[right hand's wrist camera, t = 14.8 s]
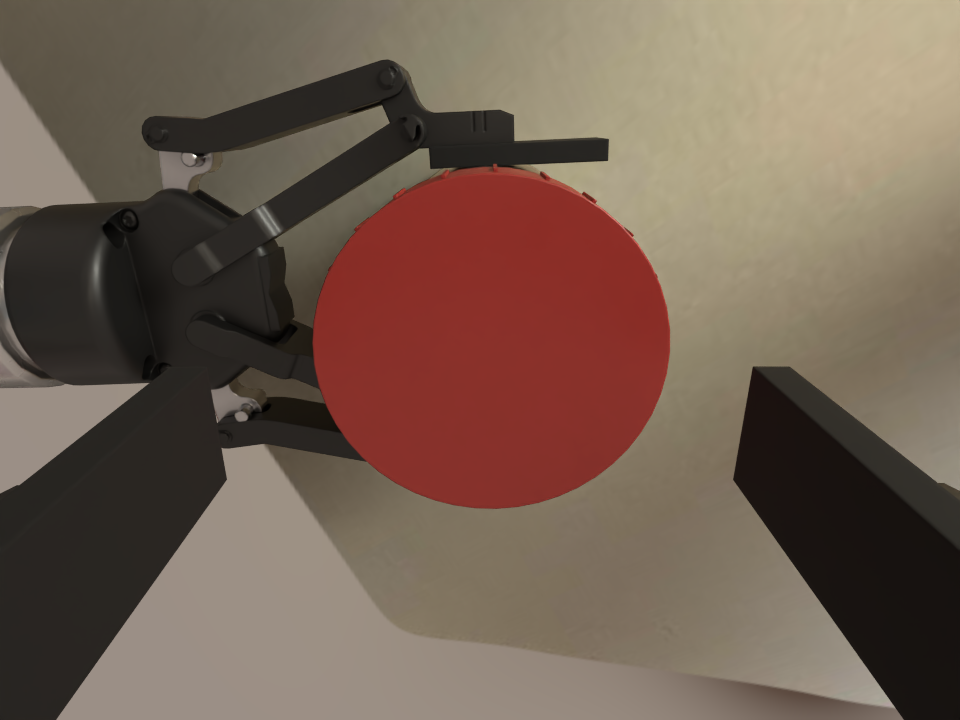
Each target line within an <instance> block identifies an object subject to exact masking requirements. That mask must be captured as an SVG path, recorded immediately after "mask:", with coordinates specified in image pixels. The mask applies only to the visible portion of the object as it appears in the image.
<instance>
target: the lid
mask: <svg viewBox="0 0 960 720" xmlns="http://www.w3.org/2000/svg"><path fill="white" fill-rule="evenodd" d="M393 198H394V199H393V200H392V201H390V202H389V203H388V204H387V205H385V206H384V207H383V208H382V209H380V210H379V211H378V212H377V213H375V214H374V215H373V216H372V217H370V218H367V219H366V220H365V221H363V222H362V223H361V224H360V225H358V226H357V227H356V228H355V229H354V230H355V231H356V232H355V233H354V234H353V235H352V236H351V237H350V239H349V240H348V242H347V243H346V244H345V246H344V247H343V249H342V250H341V251H340V253H339V254H338V256H337V257H336V259H335V261H334V263H333V265H332V266H331V267H330V268H329V269H328V271H329V272H328V274H327V276H326V278H325V281H324V284H323V287H322V290H321V292H320V295H319V298H318V302H317V307H316V312H315V317H314V325H313V342H312V344H313V356H314V366H315V370H316V375H317V379H318V384H319V387H320V390H321V393H322V396H323V398H324V401H325V404H326V406H327V408H328V410H329V412H330V414H331V416H332V418H333V420H334V421H335V423H336V425H337V427H338V428H339V429H340V431H341V432H342V434H343V435H344V437H345V438H346V439H347V441H348V442H349V443H350V444H351V446H352V447H353V448H354V449H355V450H356V451H357V452H358V453H359V454H360V455H361V457H362V458H363V459H365V460H366V461H367V462H368V463H369V464H370V465H372V466H373V467H374V468H375V469H376V470H377V471H379V472H380V473H382V474H383V475H385V476H386V477H388V478H389V479H391V480H392V481H394V482H395V483H397V484H399V485H401V486H402V487H404V488H406V489H408V490H410V491H412V492H414V493H417V494H419V495H422V496H425V497H427V498H430V499H433V500H436V501H440V502H444V503H448V504H451V505H456V506H463V507H471V508H489V509H499V508H511V507H520V506H525V505H530V504H535V503H539V502H542V501H545V500H549V499H552V498H555V497H558V496H560V495H563V494H565V493H567V492H569V491H571V490H574V489H576V488H578V487H580V486H581V485H583V484H585V483H586V482H588V481H590V480H591V479H593V478H595V477H596V476H598V475H599V474H600V473H602V472H603V471H604V470H605V469H607V468H608V467H609V466H611V465H612V464H613V463H614V462H615V461H616V460H617V459H618V458H619V457H620V456H621V455H622V454H623V453H624V452H625V451H626V450H627V449H628V448H629V447H630V446H631V444H632V443H633V442H634V441H635V439H636V438H637V437H638V436H639V434H640V433H641V432H642V430H643V428H644V427H645V425H646V423H647V422H648V420H649V418H650V417H651V415H652V413H653V411H654V409H655V406H656V404H657V402H658V399H659V397H660V395H661V392H662V388H663V385H664V381H665V378H666V374H667V368H668V361H669V354H670V326H669V319H668V312H667V306H666V303H665V299H664V296H663V292H662V289H661V285H660V283H659V281H658V279H657V278H658V277H657V275H656V274H655V272H654V270H653V268H652V265H651V264H650V262H649V260H648V259H647V257H646V256H645V254H644V253H643V251H642V249H641V248H640V246H639V245H638V243H637V242H636V241H635V240H634V239H633V238H632V237H633V236H634V235H633V234H632V233H631V232H630V231H629V230H627V229H626V228H625V227H623V226H622V225H621V224H620V223H619V222H617V221H616V220H615V219H614V218H613V217H612V216H610V215H609V214H608V213H607V212H606V211H605V210H604V209H602V208H601V207H599V206H598V205H597V204H595V203H596V202H597V200H595V199H594V198H592V197H591V196H590V195H588V194H587V193H585V192H583V193H582V194H581V193H579V192H578V191H576V190H574V189H573V188H571V187H569V186H567V185H565V184H563V183H561V182H559V181H557V180H554V179H552V178H550V177H549V176H548V175H547V174H545V173H544V172H540V174H537V173H534V172H530V171H526V170H520V169H513V168H507V167H497V164H493V167H478V168H469V169H461V170H457V171H453V172H449V169H448V170H445V171H444V172H443V173H442V174H441V175H438V176H436V177H433V178H431V179H428V180H426V181H423V182H421V183H419V184H417V185H415V186H413V187H412V188H410V189H408V190H406V189H405V188H403V189H402V190H401V191H399V192H398V193H397V194H395V195H394V196H393Z"/></svg>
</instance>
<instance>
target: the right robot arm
mask: <svg viewBox="0 0 960 720" xmlns="http://www.w3.org/2000/svg"><path fill="white" fill-rule="evenodd" d="M226 480H227V478H226V472H225V466H224V461H223V455H222V449H221V443H220V438H219V432H218V426H217V421H216V415H215V409H214V403H213V398H212V392H211V386H210V381H209V375H208V369H207V367H170V368H168V369H167V370H166V371H164V372H163V373H162V374H161V375H159V376H158V377H157V378H156V379H154V380H153V381H152V382H150V383H149V384H148V385H147V386H145V387H144V388H143V389H142V390H140V391H139V392H138V393H136V394H135V395H134V396H133V397H131V398H130V399H129V400H128V401H126V402H125V403H124V404H122V405H121V406H120V407H119V408H117V409H116V410H115V411H114V412H112V413H111V414H110V415H108V416H107V417H106V418H105V419H103V420H102V421H101V422H100V423H98V424H97V425H96V426H94V427H93V428H92V429H91V430H89V431H88V432H87V433H85V434H84V435H83V436H82V437H80V438H79V439H78V440H77V441H75V442H74V443H73V444H71V445H70V446H69V447H68V448H66V449H65V450H64V451H63V452H61V453H60V454H59V455H57V456H56V457H55V458H54V459H52V460H51V461H50V462H49V463H47V464H46V465H45V466H43V467H42V468H41V469H40V470H38V471H37V472H36V473H35V474H33V475H32V476H31V477H30V478H28V479H27V480H26V481H24V482H23V483H22V484H21V485H17V486H15V487H13V488H11V489H9V490H7V491H5V492H3V493H1V494H0V720H56V719H57V718H58V716H59V715H60V713H61V712H62V711H63V709H64V708H65V706H66V705H67V704H68V702H69V701H70V699H71V698H72V697H73V695H74V694H75V692H76V691H77V690H78V688H79V687H80V685H81V684H82V682H83V681H84V680H85V678H86V677H87V675H88V674H89V673H90V671H91V670H92V668H93V667H94V666H95V664H96V663H97V661H98V660H99V659H100V657H101V656H102V654H103V653H104V652H105V650H106V649H107V647H108V646H109V645H110V643H111V642H112V640H113V639H114V637H115V636H116V635H117V633H118V632H119V630H120V629H121V628H122V626H123V625H124V623H125V622H126V621H127V619H128V618H129V616H130V615H131V614H132V612H133V611H134V609H135V608H136V607H137V605H138V604H139V602H140V601H141V600H142V598H143V597H144V595H145V594H146V593H147V591H148V590H149V588H150V587H151V586H152V584H153V583H154V581H155V580H156V578H157V577H158V576H159V574H160V573H161V571H162V570H163V569H164V567H165V566H166V564H167V563H168V562H169V560H170V559H171V557H172V556H173V555H174V553H175V552H176V550H177V549H178V548H179V546H180V545H181V543H182V542H183V541H184V539H185V538H186V536H187V535H188V533H189V532H190V531H191V529H192V528H193V526H194V525H195V524H196V522H197V521H198V519H199V518H200V517H201V515H202V514H203V512H204V511H205V509H206V508H207V507H208V505H209V504H210V503H211V501H212V500H213V498H214V497H215V496H216V494H217V493H218V491H219V490H220V488H221V487H222V486H223V484H224V483H225V481H226ZM733 480H734V481H735V483H736V484H737V486H738V487H739V489H740V490H741V491H742V493H743V494H744V496H745V497H746V498H747V500H748V501H749V503H750V504H751V505H752V507H753V508H754V510H755V511H756V512H757V514H758V515H759V517H760V518H761V519H762V521H763V522H764V524H765V525H766V526H767V528H768V529H769V531H770V532H771V533H772V535H773V536H774V538H775V539H776V541H777V542H778V543H779V545H780V546H781V548H782V549H783V550H784V552H785V553H786V555H787V556H788V557H789V559H790V560H791V562H792V563H793V564H794V566H795V567H796V569H797V570H798V571H799V573H800V574H801V576H802V577H803V578H804V580H805V581H806V583H807V584H808V586H809V587H810V588H811V590H812V591H813V593H814V594H815V595H816V597H817V598H818V600H819V601H820V602H821V604H822V605H823V607H824V608H825V609H826V611H827V612H828V614H829V615H830V616H831V618H832V619H833V621H834V622H835V623H836V625H837V626H838V628H839V629H840V630H841V632H842V633H843V635H844V636H845V638H846V639H847V640H848V642H849V643H850V645H851V646H852V647H853V649H854V650H855V652H856V653H857V654H858V656H859V657H860V659H861V660H862V661H863V663H864V664H865V666H866V667H867V668H868V670H869V671H870V673H871V674H872V675H873V677H874V678H875V680H876V681H877V683H878V684H879V685H880V687H881V688H882V690H883V691H884V692H885V694H886V695H887V697H888V698H889V699H890V701H891V702H892V704H893V705H894V706H895V708H896V709H897V711H898V712H899V713H900V715H901V716H902V718H903V719H904V720H960V491H959V490H957V489H955V488H953V487H951V486H949V485H947V484H944V483H937V482H936V481H934V480H933V479H932V478H931V477H929V476H928V475H927V474H925V473H924V472H923V471H922V470H920V469H919V468H918V467H917V466H915V465H914V464H913V463H911V462H910V461H909V460H908V459H906V458H905V457H904V456H903V455H901V454H900V453H899V452H897V451H896V450H895V449H894V448H892V447H891V446H890V445H889V444H887V443H886V442H885V441H883V440H882V439H881V438H880V437H878V436H877V435H876V434H875V433H873V432H872V431H871V430H869V429H868V428H867V427H866V426H864V425H863V424H862V423H861V422H859V421H858V420H857V419H855V418H854V417H853V416H852V415H850V414H849V413H848V412H846V411H845V410H844V409H843V408H841V407H840V406H839V405H838V404H836V403H835V402H834V401H832V400H831V399H830V398H829V397H827V396H826V395H825V394H824V393H822V392H821V391H820V390H818V389H817V388H816V387H815V386H813V385H812V384H811V383H810V382H808V381H807V380H806V379H804V378H803V377H802V376H801V375H799V374H798V373H797V372H796V371H794V370H793V369H792V368H790V367H753V369H752V375H751V381H750V386H749V392H748V398H747V403H746V409H745V415H744V421H743V426H742V432H741V438H740V443H739V449H738V455H737V461H736V466H735V472H734V478H733Z"/></svg>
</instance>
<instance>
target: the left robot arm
mask: <svg viewBox="0 0 960 720" xmlns="http://www.w3.org/2000/svg"><path fill="white" fill-rule="evenodd" d="M381 105H382V106H383V108H384V110H385V112H386V115H387V117H388V119H389V122H390V124H388V125H386V126H385V127H383V128H382V129H380V130H379V131H377V132H375V133H374V134H372V135H371V136H369V137H368V138H366V139H365V140H363V141H361V142H360V143H358V144H357V145H355V146H354V147H352V148H350V149H349V150H347V151H346V152H344V153H343V154H341V155H340V156H338V157H336V158H335V159H333V160H332V161H330V162H329V163H327V164H325V165H324V166H322V167H321V168H319V169H318V170H316V171H315V172H313V173H311V174H310V175H308V176H307V177H305V178H304V179H302V180H300V181H299V182H297V183H296V184H294V185H293V186H291V187H290V188H288V189H286V190H285V191H283V192H282V193H280V194H279V195H277V196H275V197H274V198H272V199H271V200H269V201H268V202H266V203H264V204H263V205H261V206H259V207H257V208H255V209H254V210H252V211H250V212H249V213H247V214H245V215H244V216H242V215H240V214H239V213H237V212H236V211H234V210H232V209H231V208H229V207H228V206H226V205H224V204H223V203H221V202H219V201H218V200H216V199H215V198H213V197H211V196H210V195H208V194H207V193H205V192H203V191H202V190H200V189H198V185H199V181H200V178H201V177H202V176H203V175H205V174H206V173H210V172H214V171H216V170H218V169H219V168H220V166H221V164H222V159H223V157H222V152H225V151H233V150H242V149H246V148H250V147H253V146H257V145H260V144H263V143H266V142H269V141H272V140H275V139H278V138H281V137H284V136H288V135H291V134H294V133H297V132H300V131H303V130H306V129H309V128H312V127H316V126H319V125H322V124H325V123H328V122H331V121H334V120H337V119H340V118H343V117H347V116H350V115H353V114H356V113H359V112H362V111H365V110H368V109H371V108H375V107H378V106H381ZM142 135H143V138H144V140H145V142H146V143H147V144H148V146H150V147H151V148H153V149H154V150H158V151H159V160H160V168H161V176H162V185H163V190H161V191H159V192H157V193H156V194H155V195H153V196H152V197H151V198H149V199H147V200H145V201H135V202H112V203H90V204H68V205H52V206H48V207H45V208H42V209H41V208H37V207H33V206H21V207H0V388H27V387H53V386H61V385H64V384H70V385H104V384H131V383H150V382H152V381H153V380H154V379H156V378H157V377H158V376H159V375H161V374H162V373H163V372H164V371H166V370H167V369H168V368H170V367H207V369H208V375H209V381H210V386H211V392H212V398H213V403H214V409H215V413H216V416H217V418H218V423H217V426H218V432H219V438H220V443H221V448H236V447H243V446H251V445H258V444H270V445H276V446H281V447H287V448H293V449H298V450H304V451H310V452H315V453H321V454H327V455H332V456H338V457H343V458H349V459H355V460H360V461H366V460H365V459H363V458H362V457H361V455H360V454H359V453H358V452H357V451H356V450H355V449H354V448H353V447H352V446H351V444H350V443H349V442H348V441H347V439H346V438H345V437H344V435H343V434H342V432H341V431H340V429H339V428H338V427H337V425H336V423H335V421H334V420H333V418H332V416H331V414H330V412H329V410H328V408H327V406H326V404H323V403H317V402H312V401H306V400H301V399H295V398H288V397H267V398H266V393H265V391H263V390H262V389H248V388H246V387H244V386H242V385H241V384H240V383H239V382H238V380H237V377H238V376H239V375H241V374H242V373H243V372H244V371H246V370H247V369H248V368H249V367H252V368H255V369H257V370H260V371H262V372H265V373H267V374H269V375H272V376H274V377H277V378H280V379H291V378H292V379H297V380H299V381H301V382H304V383H306V384H309V385H311V386H314V387H316V388H318V389H320V387H319V384H318V379H317V375H316V370H315V366H314V356H313V344H312V342H313V329H312V328H310V327H308V326H306V325H304V324H301V323H299V322H297V321H294V320H292V319H293V318H294V317H295V316H294V310H293V304H292V299H291V297H290V295H289V292H288V290H287V288H286V286H285V283H284V280H285V271H286V260H285V254H284V248H283V247H278V244H277V243H276V241H275V240H274V239H275V238H277V237H278V236H280V235H282V234H283V233H285V232H286V231H288V230H290V229H291V228H293V227H294V226H296V225H298V224H299V223H300V222H302V221H303V220H305V219H307V218H308V217H310V216H312V215H313V214H315V213H316V212H318V211H320V210H321V209H323V208H324V207H326V206H328V205H329V204H331V203H332V202H334V201H336V200H337V199H339V198H340V197H342V196H344V195H345V194H347V193H348V192H350V191H352V190H353V189H355V188H356V187H358V186H360V185H361V184H363V183H364V182H366V181H368V180H369V179H371V178H372V177H374V176H376V175H377V174H379V173H380V172H382V171H384V170H385V169H387V168H388V167H390V166H392V165H393V164H395V163H396V162H398V161H400V160H401V159H403V158H404V157H406V156H408V155H409V154H411V153H412V152H414V151H416V150H417V149H419V148H429V155H430V169H439V168H461V167H482V166H493V164H497V166H505V165H527V164H549V163H572V162H594V161H608V146H609V139H605V138H574V139H553V140H531V141H514V115H512V114H509V113H507V112H504V111H502V110H487V111H466V112H445V113H433V112H430V111H428V110H427V109H425V108H424V107H423V105H422V104H421V102H420V101H419V99H418V96H417V94H416V91H415V89H414V87H413V84H412V82H411V77H410V75H409V73H408V72H407V71H406V70H405V69H404V68H403V67H401V66H400V65H398V64H397V63H395V62H393V61H390V60H381V61H378V62H375V63H372V64H369V65H366V66H363V67H359V68H356V69H353V70H350V71H347V72H344V73H341V74H338V75H335V76H332V77H329V78H326V79H323V80H320V81H317V82H314V83H311V84H308V85H305V86H302V87H299V88H296V89H293V90H290V91H287V92H284V93H281V94H278V95H275V96H272V97H269V98H266V99H263V100H260V101H257V102H254V103H251V104H248V105H245V106H242V107H239V108H235V109H232V110H229V111H226V112H223V113H220V114H217V115H214V116H211V117H208V118H196V117H172V116H154V117H149V118H148V119H146V120H145V122H144V123H143V125H142ZM366 462H367V461H366Z"/></svg>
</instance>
